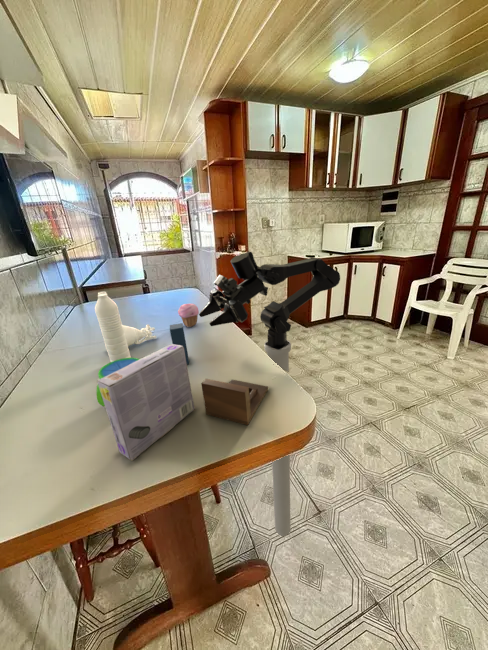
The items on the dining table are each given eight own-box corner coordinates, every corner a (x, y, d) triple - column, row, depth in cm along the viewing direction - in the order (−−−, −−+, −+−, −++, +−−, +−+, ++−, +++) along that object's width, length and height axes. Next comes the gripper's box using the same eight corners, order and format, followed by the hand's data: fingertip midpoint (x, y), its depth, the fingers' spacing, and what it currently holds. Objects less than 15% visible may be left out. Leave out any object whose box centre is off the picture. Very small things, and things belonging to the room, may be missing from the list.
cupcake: (177, 325, 120) (173, 304, 116) (194, 320, 125) (190, 299, 121) (187, 330, 113) (183, 308, 109) (204, 324, 118) (201, 303, 114)
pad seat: (231, 382, 76) (228, 354, 72) (268, 389, 71) (267, 360, 68) (206, 414, 64) (201, 383, 61) (248, 425, 60) (245, 392, 56)
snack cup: (139, 379, 80) (131, 350, 77) (165, 388, 76) (157, 356, 72) (90, 412, 68) (78, 378, 64) (118, 424, 63) (106, 389, 59)
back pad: (188, 358, 91) (182, 323, 86) (189, 364, 87) (183, 327, 82) (176, 360, 90) (169, 325, 85) (176, 366, 86) (169, 329, 81)
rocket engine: (155, 313, 107) (106, 316, 96) (163, 337, 103) (113, 343, 91) (148, 329, 115) (102, 333, 104) (155, 352, 110) (108, 359, 99)
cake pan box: (185, 400, 70) (173, 339, 63) (199, 406, 67) (188, 343, 60) (117, 452, 55) (93, 381, 49) (132, 463, 53) (108, 389, 46)
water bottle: (110, 361, 93) (90, 291, 83) (130, 356, 95) (112, 288, 86) (112, 372, 85) (89, 297, 76) (133, 366, 88) (114, 293, 79)
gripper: (222, 265, 86) (182, 291, 83) (249, 273, 71) (201, 306, 67) (237, 293, 92) (199, 318, 89) (265, 306, 76) (221, 338, 73)
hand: (204, 320), depth 79 cm, fingers open, 9 cm apart
